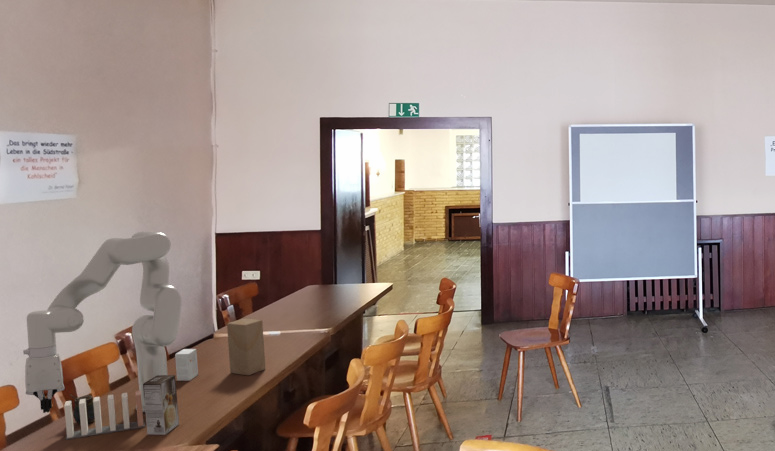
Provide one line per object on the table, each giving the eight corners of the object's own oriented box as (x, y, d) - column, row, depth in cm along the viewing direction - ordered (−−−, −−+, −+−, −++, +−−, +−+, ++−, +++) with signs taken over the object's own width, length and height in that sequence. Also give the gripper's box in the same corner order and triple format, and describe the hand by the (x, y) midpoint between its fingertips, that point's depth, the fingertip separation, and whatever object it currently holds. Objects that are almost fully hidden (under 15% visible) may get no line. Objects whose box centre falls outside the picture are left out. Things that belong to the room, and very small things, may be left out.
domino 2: (82, 430, 226) (79, 399, 225) (88, 429, 226) (85, 398, 225) (81, 435, 221) (78, 403, 220) (87, 434, 222) (84, 403, 221)
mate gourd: (100, 422, 234) (96, 392, 233) (75, 428, 230) (71, 397, 229) (95, 416, 240) (92, 387, 239) (71, 421, 236) (68, 392, 235)
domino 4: (110, 426, 228) (108, 395, 228) (116, 425, 229) (113, 394, 228) (110, 431, 224) (107, 399, 223) (115, 430, 224) (113, 398, 224)
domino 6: (137, 421, 231) (135, 391, 230) (143, 421, 232) (140, 390, 231) (138, 426, 226) (135, 395, 226) (143, 425, 227) (140, 394, 226)
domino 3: (96, 428, 227) (94, 397, 226) (102, 427, 228) (99, 396, 227) (96, 433, 222) (93, 401, 222) (101, 432, 223) (98, 401, 222)
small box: (185, 374, 285) (183, 348, 285) (198, 374, 285) (196, 348, 284) (176, 380, 278) (174, 354, 277) (190, 380, 277) (188, 353, 276)
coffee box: (161, 424, 229) (157, 374, 227) (179, 424, 228) (176, 374, 226) (146, 434, 220) (142, 383, 218) (166, 435, 219) (161, 383, 217)
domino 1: (68, 432, 224) (65, 401, 224) (74, 431, 225) (71, 400, 224) (67, 438, 220) (64, 406, 219) (72, 437, 220) (70, 405, 219)
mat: (67, 433, 225) (67, 432, 225) (144, 421, 232) (144, 420, 232) (65, 439, 219) (65, 438, 219) (145, 427, 227) (145, 426, 227)
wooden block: (248, 375, 279) (244, 325, 278) (229, 373, 284) (226, 323, 283) (266, 369, 287) (262, 319, 286) (247, 366, 293) (244, 318, 291)
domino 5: (124, 423, 230) (121, 393, 229) (129, 423, 230) (127, 392, 230) (124, 428, 225) (121, 397, 224) (129, 428, 226) (127, 396, 225)
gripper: (13, 357, 212) (17, 418, 213) (68, 351, 217) (72, 411, 218) (17, 352, 219) (21, 411, 220) (70, 346, 224) (74, 404, 225)
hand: (46, 411), depth 219 cm, fingers closed
